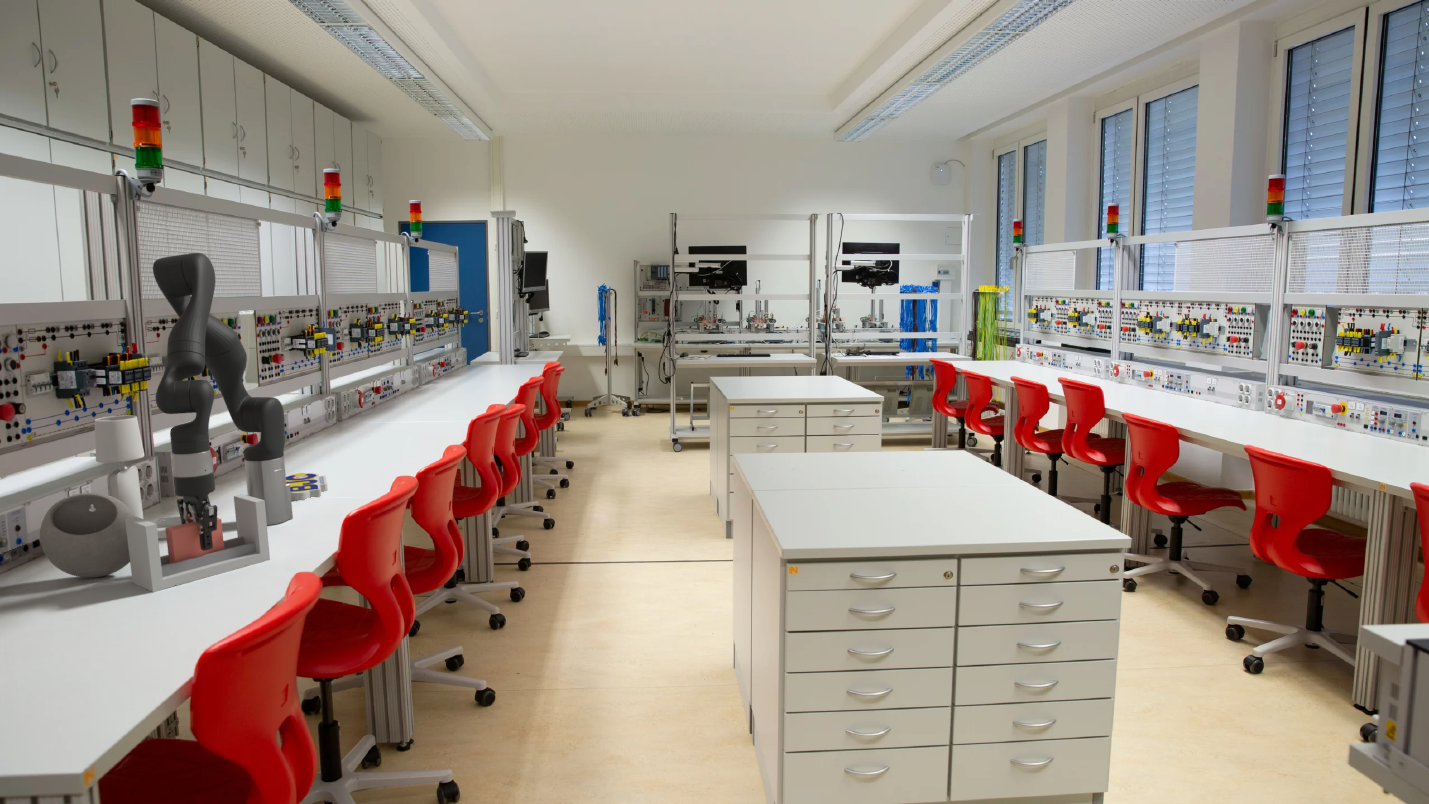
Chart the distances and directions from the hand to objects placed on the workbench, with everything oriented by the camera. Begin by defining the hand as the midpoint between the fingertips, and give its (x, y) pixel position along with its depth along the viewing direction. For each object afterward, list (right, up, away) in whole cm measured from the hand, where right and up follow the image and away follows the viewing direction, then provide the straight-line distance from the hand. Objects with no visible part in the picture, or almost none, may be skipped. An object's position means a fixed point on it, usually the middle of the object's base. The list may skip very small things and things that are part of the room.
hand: (201, 546), depth 184 cm
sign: (-16, +4, +70) cm, 72 cm away
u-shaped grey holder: (0, -5, +1) cm, 5 cm away
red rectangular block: (-1, -3, 0) cm, 4 cm away
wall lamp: (-29, -2, +29) cm, 41 cm away
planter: (-21, -6, -2) cm, 22 cm away
